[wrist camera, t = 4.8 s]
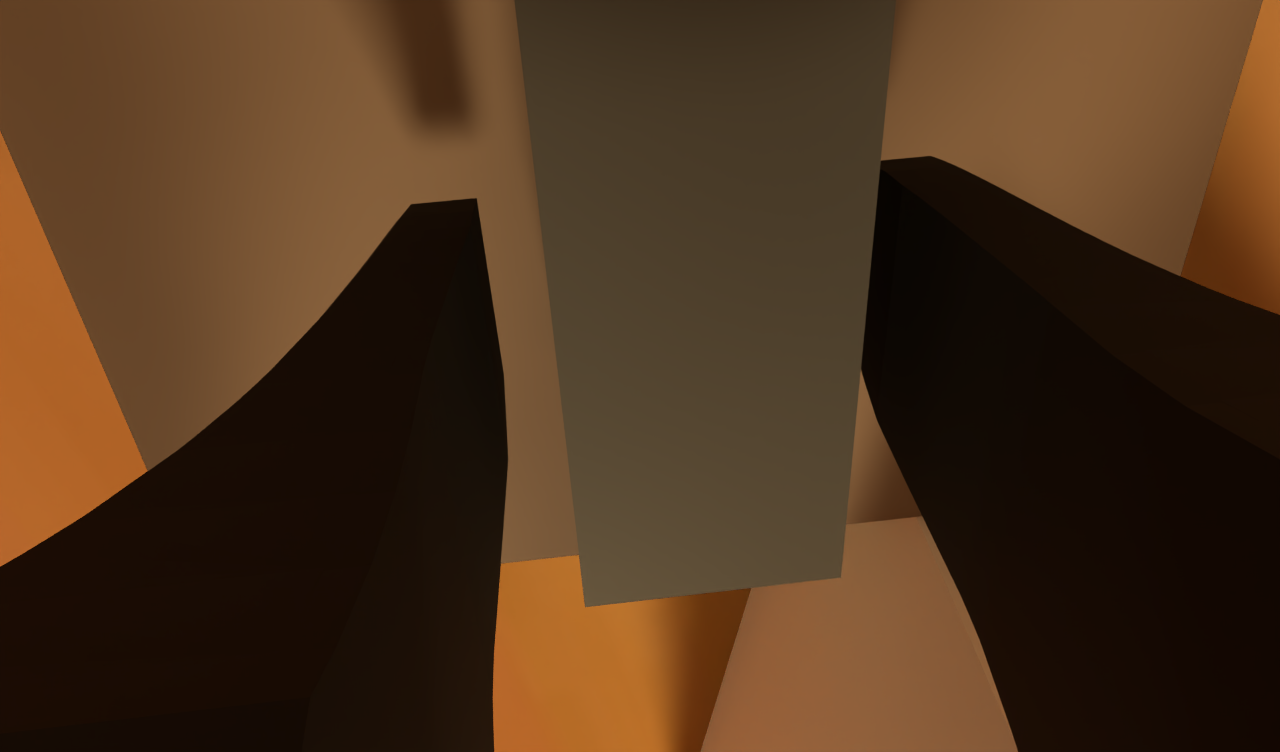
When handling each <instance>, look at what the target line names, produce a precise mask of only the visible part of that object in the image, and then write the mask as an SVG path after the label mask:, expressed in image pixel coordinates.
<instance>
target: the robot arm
mask: <svg viewBox="0 0 1280 752" xmlns="http://www.w3.org/2000/svg"><path fill="white" fill-rule="evenodd" d="M861 372H862V375H863V378H864V382H865V385H866V388H867V391H868V394H869V398H870V401H871V404H872V407H873V410H874V413H875V416H876V419H877V422H878V424H879V426H880V428H881V430H882V433H883V435H884V437H885V439H886V441H887V444H888V446H889V448H890V450H891V452H892V454H893V456H894V458H895V460H896V463H897V465H898V467H899V469H900V471H901V473H902V475H903V477H904V480H905V482H906V484H907V486H908V488H909V490H910V492H911V494H912V496H913V498H914V500H915V502H916V504H917V506H918V509H919V511H920V513H921V515H922V517H923V519H924V521H925V523H926V525H927V527H928V529H929V531H930V533H931V535H932V538H933V540H934V542H935V544H936V546H937V548H938V550H939V552H940V554H941V556H942V558H943V560H944V562H945V564H946V566H947V569H948V571H949V573H950V575H951V577H952V579H953V581H954V583H955V585H956V587H957V589H958V591H959V593H960V595H961V598H962V600H963V602H964V605H965V607H966V609H967V612H968V614H969V616H970V619H971V621H972V623H973V626H974V628H975V630H976V633H977V635H978V637H979V640H980V643H981V645H982V648H983V651H984V654H985V657H986V660H987V663H988V666H989V668H990V671H991V674H992V677H993V680H994V683H995V686H996V688H997V691H998V694H999V697H1000V700H1001V703H1002V706H1003V709H1004V711H1005V714H1006V717H1007V720H1008V723H1009V726H1010V729H1011V731H1012V734H1013V738H1014V741H1015V744H1016V747H1017V750H1018V752H1280V315H1278V314H1275V313H1273V312H1270V311H1267V310H1264V309H1261V308H1258V307H1256V306H1253V305H1250V304H1247V303H1244V302H1242V301H1239V300H1236V299H1234V298H1231V297H1229V296H1226V295H1224V294H1221V293H1219V292H1216V291H1214V290H1211V289H1209V288H1206V287H1204V286H1201V285H1199V284H1196V283H1194V282H1192V281H1190V280H1187V279H1185V278H1183V277H1181V276H1178V275H1176V274H1174V273H1172V272H1169V271H1167V270H1165V269H1163V268H1160V267H1158V266H1156V265H1154V264H1151V263H1149V262H1147V261H1145V260H1142V259H1140V258H1138V257H1136V256H1133V255H1131V254H1129V253H1127V252H1125V251H1123V250H1121V249H1119V248H1117V247H1115V246H1113V245H1111V244H1108V243H1106V242H1104V241H1102V240H1100V239H1098V238H1096V237H1094V236H1092V235H1090V234H1088V233H1086V232H1084V231H1082V230H1080V229H1078V228H1076V227H1074V226H1072V225H1070V224H1068V223H1066V222H1065V221H1063V220H1061V219H1059V218H1057V217H1055V216H1053V215H1051V214H1049V213H1047V212H1045V211H1043V210H1041V209H1039V208H1038V207H1036V206H1034V205H1032V204H1030V203H1028V202H1026V201H1024V200H1022V199H1020V198H1018V197H1017V196H1015V195H1013V194H1011V193H1009V192H1007V191H1005V190H1003V189H1001V188H999V187H998V186H996V185H994V184H992V183H990V182H988V181H986V180H984V179H982V178H980V177H978V176H976V175H974V174H972V173H970V172H968V171H966V170H964V169H962V168H960V167H957V166H955V165H953V164H951V163H948V162H946V161H944V160H941V159H938V158H935V157H933V156H923V157H912V158H902V159H891V160H881V164H880V174H879V185H878V195H877V206H876V216H875V226H874V237H873V247H872V258H871V268H870V279H869V289H868V300H867V310H866V321H865V331H864V342H863V352H862V363H861ZM507 471H508V442H507V421H506V403H505V385H504V371H503V365H502V358H501V352H500V345H499V339H498V333H497V326H496V320H495V313H494V307H493V300H492V294H491V287H490V281H489V274H488V268H487V261H486V255H485V248H484V242H483V235H482V229H481V222H480V216H479V209H478V203H477V198H471V199H460V200H450V201H439V202H428V203H417V204H411V205H410V206H409V207H408V208H407V210H406V211H405V212H404V213H403V214H402V216H401V217H400V218H399V219H398V220H397V222H396V223H395V224H394V225H393V227H392V228H391V229H390V231H389V232H388V233H387V235H386V236H385V237H384V239H383V240H382V241H381V243H380V244H379V245H378V247H377V248H376V249H375V250H374V252H373V253H372V254H371V256H370V257H369V258H368V260H367V261H366V262H365V263H364V265H363V266H362V267H361V269H360V270H359V271H358V272H357V274H356V275H355V276H354V278H353V279H352V280H351V281H350V282H349V284H348V285H347V286H346V287H345V288H344V290H343V291H342V292H341V293H340V294H339V296H338V297H337V298H336V299H335V300H334V302H333V303H332V304H331V305H330V306H329V308H328V309H327V310H326V311H325V313H324V314H323V315H322V316H321V317H320V318H319V320H318V321H317V322H316V323H315V324H314V325H313V326H312V327H311V328H310V329H309V330H308V331H307V332H306V333H305V334H304V335H303V337H302V338H301V339H300V340H299V341H298V342H297V343H296V344H295V345H294V346H293V347H292V348H291V349H290V350H289V351H288V352H287V353H286V355H285V356H284V357H283V358H282V359H281V360H280V361H279V362H278V363H277V364H276V365H275V366H274V367H273V368H272V369H271V370H270V371H269V372H268V373H267V374H266V375H265V376H264V377H263V378H262V379H261V380H260V381H259V382H258V383H257V384H255V385H254V386H253V387H252V388H251V389H250V390H249V391H248V392H247V393H246V394H244V395H243V396H242V397H241V398H240V399H239V400H238V401H237V402H236V403H234V404H233V405H232V406H231V407H230V408H228V409H227V410H226V411H225V412H224V413H222V414H221V415H220V416H219V417H218V418H216V419H215V420H214V421H213V422H212V423H211V424H209V425H208V426H207V427H206V428H205V429H203V430H202V431H201V432H200V433H199V434H197V435H196V436H195V437H194V438H192V439H191V440H190V441H189V442H187V443H186V444H185V445H183V446H182V447H181V448H180V449H178V450H177V451H176V452H174V453H173V454H172V455H170V456H169V457H167V458H166V459H164V460H163V461H162V462H160V463H159V464H157V465H156V466H155V467H153V468H152V469H150V470H149V471H147V472H146V473H145V474H143V475H142V476H140V477H139V478H138V479H136V480H135V481H133V482H132V483H130V484H129V485H128V486H126V487H125V488H123V489H122V490H120V491H119V492H118V493H116V494H115V495H113V496H112V497H111V498H109V499H108V500H106V501H105V502H103V503H102V504H101V505H99V506H98V507H96V508H95V509H94V510H92V511H91V512H89V513H88V514H86V515H85V516H83V517H82V518H80V519H79V520H77V521H75V522H74V523H72V524H71V525H69V526H67V527H66V528H64V529H63V530H61V531H59V532H58V533H56V534H54V535H53V536H51V537H50V538H48V539H46V540H45V541H43V542H41V543H40V544H38V545H36V546H35V547H33V548H32V549H30V550H28V551H27V552H25V553H23V554H22V555H20V556H18V557H17V558H15V559H13V560H11V561H10V562H8V563H6V564H4V565H3V566H1V567H0V752H494V733H493V664H494V644H495V631H496V618H497V605H498V592H499V579H500V566H501V553H502V540H503V527H504V513H505V500H506V486H507Z"/></svg>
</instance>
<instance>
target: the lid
mask: <svg viewBox="0 0 1280 752" xmlns="http://www.w3.org/2000/svg"><path fill="white" fill-rule="evenodd" d="M1262 1H1263V0H0V131H1V133H2V136H3V138H4V140H5V143H6V145H7V147H8V149H9V152H10V154H11V156H12V159H13V161H14V163H15V166H16V168H17V170H18V173H19V175H20V177H21V179H22V182H23V184H24V186H25V189H26V191H27V193H28V196H29V198H30V200H31V203H32V205H33V207H34V209H35V212H36V214H37V216H38V219H39V221H40V223H41V226H42V228H43V230H44V233H45V235H46V237H47V239H48V242H49V244H50V246H51V249H52V251H53V253H54V256H55V258H56V260H57V263H58V265H59V267H60V269H61V272H62V274H63V276H64V279H65V281H66V283H67V286H68V288H69V290H70V293H71V295H72V297H73V299H74V302H75V304H76V306H77V309H78V311H79V313H80V316H81V318H82V320H83V323H84V325H85V327H86V329H87V332H88V334H89V336H90V339H91V341H92V343H93V346H94V348H95V350H96V353H97V355H98V357H99V359H100V362H101V364H102V366H103V369H104V371H105V373H106V376H107V378H108V380H109V383H110V385H111V387H112V389H113V392H114V394H115V396H116V399H117V401H118V403H119V406H120V408H121V410H122V413H123V415H124V417H125V419H126V422H127V424H128V426H129V429H130V431H131V433H132V436H133V438H134V440H135V442H136V445H137V447H138V449H139V452H140V454H141V456H142V459H143V461H144V463H145V466H146V468H147V470H148V471H149V470H150V469H152V468H153V467H155V466H156V465H157V464H159V463H160V462H162V461H163V460H164V459H166V458H167V457H169V456H170V455H172V454H173V453H174V452H176V451H177V450H178V449H180V448H181V447H182V446H183V445H185V444H186V443H187V442H189V441H190V440H191V439H192V438H194V437H195V436H196V435H197V434H199V433H200V432H201V431H202V430H203V429H205V428H206V427H207V426H208V425H209V424H211V423H212V422H213V421H214V420H215V419H216V418H218V417H219V416H220V415H221V414H222V413H224V412H225V411H226V410H227V409H228V408H230V407H231V406H232V405H233V404H234V403H236V402H237V401H238V400H239V399H240V398H241V397H242V396H243V395H244V394H246V393H247V392H248V391H249V390H250V389H251V388H252V387H253V386H254V385H255V384H257V383H258V382H259V381H260V380H261V379H262V378H263V377H264V376H265V375H266V374H267V373H268V372H269V371H270V370H271V369H272V368H273V367H274V366H275V365H276V364H277V363H278V362H279V361H280V360H281V359H282V358H283V357H284V356H285V355H286V353H287V352H288V351H289V350H290V349H291V348H292V347H293V346H294V345H295V344H296V343H297V342H298V341H299V340H300V339H301V338H302V337H303V335H304V334H305V333H306V332H307V331H308V330H309V329H310V328H311V327H312V326H313V325H314V324H315V323H316V322H317V321H318V320H319V318H320V317H321V316H322V315H323V314H324V313H325V311H326V310H327V309H328V308H329V306H330V305H331V304H332V303H333V302H334V300H335V299H336V298H337V297H338V296H339V294H340V293H341V292H342V291H343V290H344V288H345V287H346V286H347V285H348V284H349V282H350V281H351V280H352V279H353V278H354V276H355V275H356V274H357V272H358V271H359V270H360V269H361V267H362V266H363V265H364V263H365V262H366V261H367V260H368V258H369V257H370V256H371V254H372V253H373V252H374V250H375V249H376V248H377V247H378V245H379V244H380V243H381V241H382V240H383V239H384V237H385V236H386V235H387V233H388V232H389V231H390V229H391V228H392V227H393V225H394V224H395V223H396V222H397V220H398V219H399V218H400V217H401V216H402V214H403V213H404V212H405V211H406V210H407V208H408V207H409V206H410V205H411V204H417V203H428V202H439V201H450V200H460V199H471V198H477V203H478V209H479V216H480V222H481V229H482V235H483V242H484V248H485V255H486V261H487V268H488V274H489V281H490V287H491V294H492V300H493V307H494V313H495V320H496V326H497V333H498V339H499V345H500V352H501V358H502V365H503V371H504V385H505V403H506V421H507V442H508V471H507V486H506V500H505V513H504V527H503V540H502V553H501V563H510V562H519V561H528V560H537V559H546V558H554V557H563V556H572V555H579V559H580V568H581V576H582V585H583V593H584V602H585V607H590V606H599V605H608V604H617V603H625V602H634V601H643V600H651V599H660V598H669V597H677V596H686V595H695V594H703V593H712V592H721V591H730V590H738V589H747V588H756V587H764V586H773V585H782V584H790V583H799V582H808V581H816V580H825V579H834V578H841V572H842V562H843V551H844V541H845V531H846V525H848V524H857V523H866V522H875V521H884V520H893V519H902V518H911V517H920V516H922V515H921V513H920V511H919V509H918V506H917V504H916V502H915V500H914V498H913V496H912V494H911V492H910V490H909V488H908V486H907V484H906V482H905V480H904V477H903V475H902V473H901V471H900V469H899V467H898V465H897V463H896V460H895V458H894V456H893V454H892V452H891V450H890V448H889V446H888V444H887V441H886V439H885V437H884V435H883V433H882V430H881V428H880V426H879V424H878V422H877V419H876V416H875V413H874V410H873V407H872V404H871V401H870V398H869V394H868V391H867V388H866V385H865V382H864V378H863V375H862V372H861V363H862V352H863V342H864V331H865V321H866V310H867V300H868V289H869V279H870V268H871V258H872V247H873V237H874V226H875V216H876V206H877V195H878V185H879V174H880V164H881V160H891V159H902V158H912V157H923V156H933V157H935V158H938V159H941V160H944V161H946V162H948V163H951V164H953V165H955V166H957V167H960V168H962V169H964V170H966V171H968V172H970V173H972V174H974V175H976V176H978V177H980V178H982V179H984V180H986V181H988V182H990V183H992V184H994V185H996V186H998V187H999V188H1001V189H1003V190H1005V191H1007V192H1009V193H1011V194H1013V195H1015V196H1017V197H1018V198H1020V199H1022V200H1024V201H1026V202H1028V203H1030V204H1032V205H1034V206H1036V207H1038V208H1039V209H1041V210H1043V211H1045V212H1047V213H1049V214H1051V215H1053V216H1055V217H1057V218H1059V219H1061V220H1063V221H1065V222H1066V223H1068V224H1070V225H1072V226H1074V227H1076V228H1078V229H1080V230H1082V231H1084V232H1086V233H1088V234H1090V235H1092V236H1094V237H1096V238H1098V239H1100V240H1102V241H1104V242H1106V243H1108V244H1111V245H1113V246H1115V247H1117V248H1119V249H1121V250H1123V251H1125V252H1127V253H1129V254H1131V255H1133V256H1136V257H1138V258H1140V259H1142V260H1145V261H1147V262H1149V263H1151V264H1154V265H1156V266H1158V267H1160V268H1163V269H1165V270H1167V271H1169V272H1172V273H1174V274H1176V275H1178V276H1181V272H1182V269H1183V266H1184V262H1185V259H1186V256H1187V252H1188V249H1189V246H1190V242H1191V239H1192V235H1193V232H1194V229H1195V225H1196V222H1197V219H1198V215H1199V212H1200V209H1201V205H1202V202H1203V199H1204V195H1205V192H1206V189H1207V185H1208V182H1209V179H1210V175H1211V172H1212V169H1213V165H1214V162H1215V159H1216V155H1217V152H1218V149H1219V145H1220V142H1221V139H1222V135H1223V132H1224V128H1225V125H1226V122H1227V118H1228V115H1229V112H1230V108H1231V105H1232V102H1233V98H1234V95H1235V92H1236V88H1237V85H1238V82H1239V78H1240V75H1241V72H1242V68H1243V65H1244V62H1245V58H1246V55H1247V52H1248V48H1249V45H1250V42H1251V38H1252V35H1253V32H1254V28H1255V25H1256V21H1257V18H1258V15H1259V11H1260V8H1261V5H1262Z"/></svg>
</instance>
